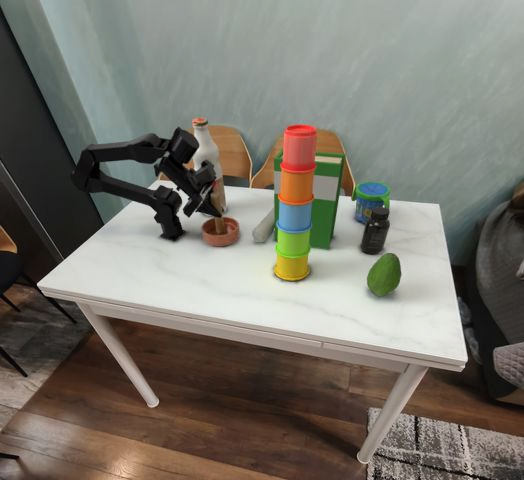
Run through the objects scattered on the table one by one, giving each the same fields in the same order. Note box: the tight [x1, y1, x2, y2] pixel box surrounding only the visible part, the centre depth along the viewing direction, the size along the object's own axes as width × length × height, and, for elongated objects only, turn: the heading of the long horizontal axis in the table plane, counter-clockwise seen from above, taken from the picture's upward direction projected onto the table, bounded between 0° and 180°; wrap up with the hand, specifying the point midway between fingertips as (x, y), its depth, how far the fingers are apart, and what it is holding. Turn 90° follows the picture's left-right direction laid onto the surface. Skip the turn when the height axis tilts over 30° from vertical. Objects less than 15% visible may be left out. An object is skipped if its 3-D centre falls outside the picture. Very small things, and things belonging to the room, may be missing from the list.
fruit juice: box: [191, 117, 228, 217], centre depth 103 cm, size 9×9×28 cm
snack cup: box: [351, 181, 391, 224], centre depth 102 cm, size 16×10×10 cm
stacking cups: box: [273, 124, 318, 282], centre depth 75 cm, size 10×10×35 cm
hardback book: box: [273, 148, 347, 250], centre depth 90 cm, size 18×7×24 cm, turn 70°
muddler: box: [211, 192, 228, 235], centre depth 96 cm, size 4×4×14 cm
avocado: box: [366, 252, 402, 297], centre depth 77 cm, size 8×8×12 cm
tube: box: [252, 207, 275, 243], centre depth 103 cm, size 5×5×25 cm
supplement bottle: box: [360, 206, 391, 255], centre depth 90 cm, size 7×7×12 cm
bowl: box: [200, 216, 241, 247], centre depth 100 cm, size 12×12×4 cm
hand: (222, 214), depth 95 cm, fingers closed on muddler, 3 cm apart
